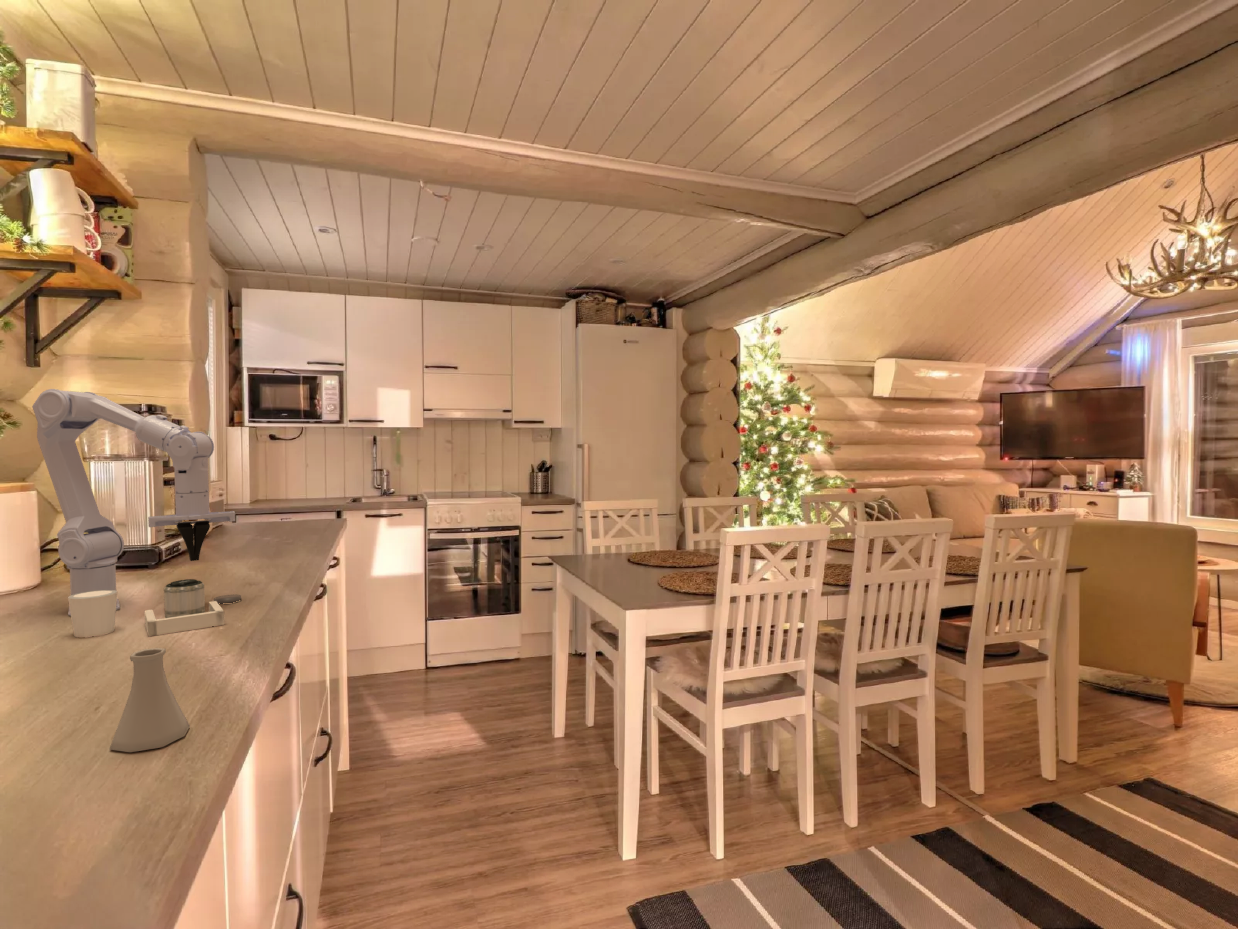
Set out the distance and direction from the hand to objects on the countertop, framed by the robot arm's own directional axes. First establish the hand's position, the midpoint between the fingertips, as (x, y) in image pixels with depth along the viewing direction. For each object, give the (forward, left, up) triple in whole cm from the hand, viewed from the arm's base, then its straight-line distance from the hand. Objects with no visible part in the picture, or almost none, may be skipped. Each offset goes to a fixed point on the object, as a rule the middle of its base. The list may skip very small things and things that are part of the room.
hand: (194, 560), depth 133 cm
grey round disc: (-3, +6, -10) cm, 12 cm away
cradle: (+12, -3, -10) cm, 15 cm away
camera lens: (+11, -3, -10) cm, 15 cm away
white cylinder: (+8, -16, -10) cm, 21 cm away
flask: (+66, -11, -10) cm, 68 cm away
